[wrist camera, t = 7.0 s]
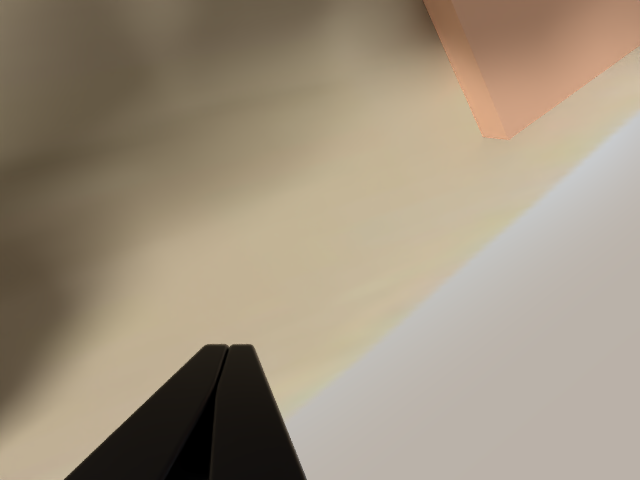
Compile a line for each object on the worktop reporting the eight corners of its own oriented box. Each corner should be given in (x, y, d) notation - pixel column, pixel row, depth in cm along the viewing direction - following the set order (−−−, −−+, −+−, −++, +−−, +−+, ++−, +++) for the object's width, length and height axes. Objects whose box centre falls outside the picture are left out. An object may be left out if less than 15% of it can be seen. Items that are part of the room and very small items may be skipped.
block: (508, 139, 19) (675, 20, 19) (437, -32, 16) (634, -165, 17) (477, 136, 21) (629, 27, 21) (409, -18, 18) (586, -137, 19)
